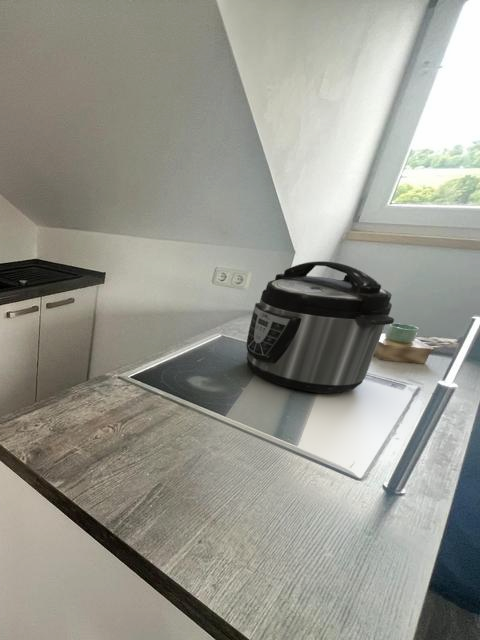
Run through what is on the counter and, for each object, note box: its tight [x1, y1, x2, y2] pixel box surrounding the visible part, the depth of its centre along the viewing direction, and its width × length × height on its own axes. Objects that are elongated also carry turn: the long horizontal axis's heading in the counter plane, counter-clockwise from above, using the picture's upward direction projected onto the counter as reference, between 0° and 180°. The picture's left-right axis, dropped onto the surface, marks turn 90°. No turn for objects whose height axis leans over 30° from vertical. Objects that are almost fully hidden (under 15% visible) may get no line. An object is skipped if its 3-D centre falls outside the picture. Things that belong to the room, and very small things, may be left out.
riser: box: [373, 332, 436, 364], centre depth 122 cm, size 12×12×5 cm
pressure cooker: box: [245, 260, 395, 394], centre depth 105 cm, size 30×28×32 cm
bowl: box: [385, 322, 420, 343], centre depth 120 cm, size 6×6×4 cm
